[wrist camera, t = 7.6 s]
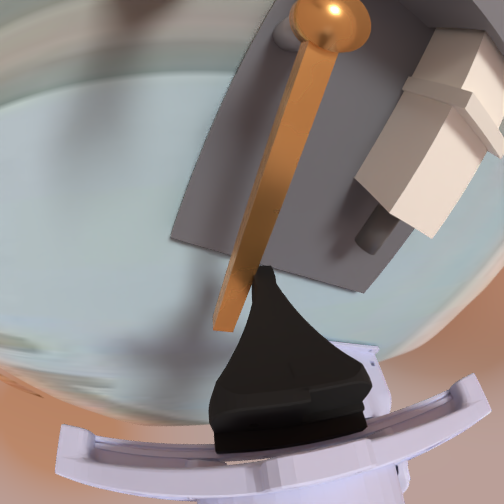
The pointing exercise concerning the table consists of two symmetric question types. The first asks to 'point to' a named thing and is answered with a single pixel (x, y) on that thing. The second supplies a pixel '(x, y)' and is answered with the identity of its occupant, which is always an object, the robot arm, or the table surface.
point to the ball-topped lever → (289, 136)
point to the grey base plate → (318, 140)
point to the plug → (435, 135)
